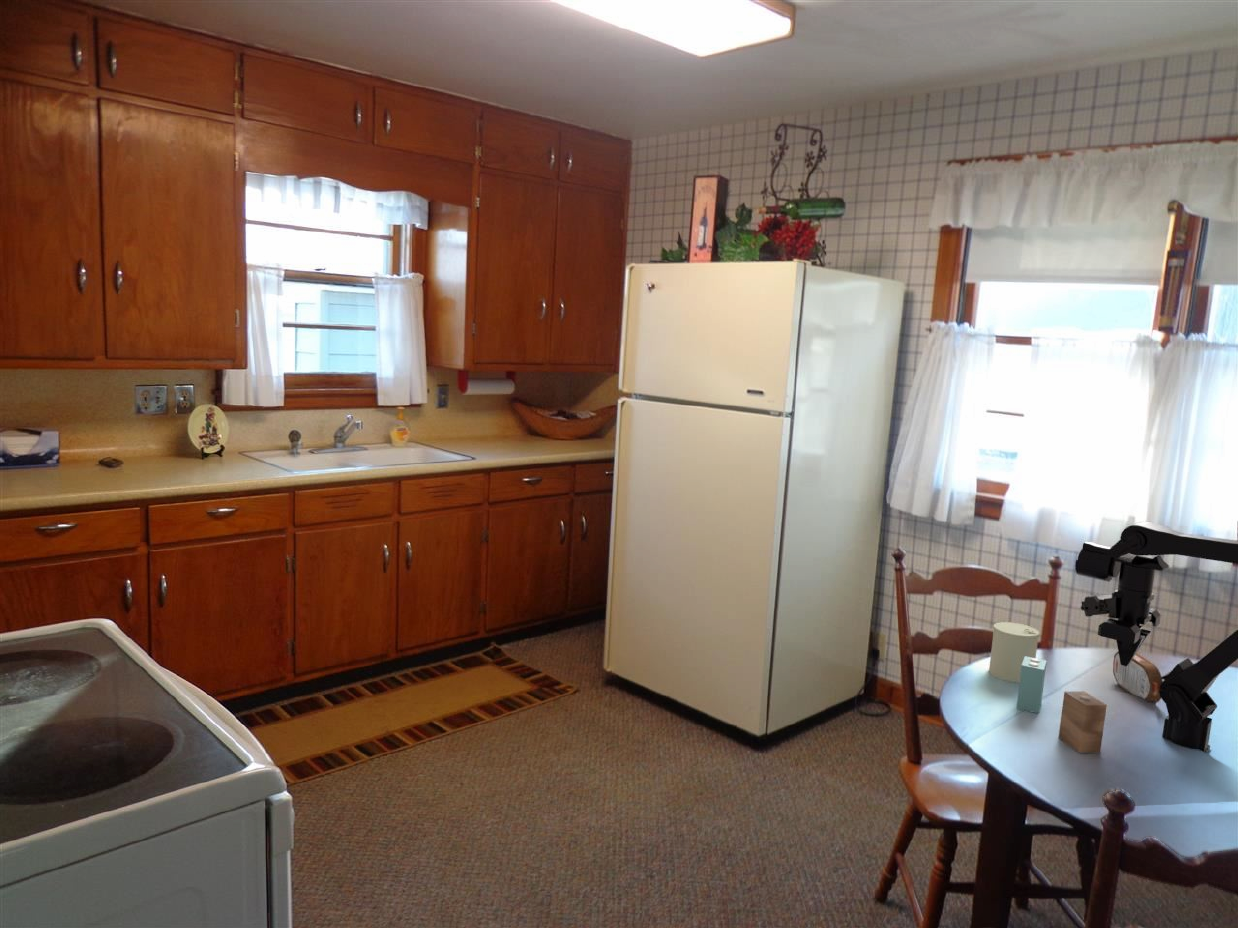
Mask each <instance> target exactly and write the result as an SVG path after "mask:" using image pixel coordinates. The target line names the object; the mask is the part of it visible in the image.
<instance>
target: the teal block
mask: <svg viewBox="0 0 1238 928" xmlns="http://www.w3.org/2000/svg"><path fill="white" fill-rule="evenodd" d="M1047 662H1048V661H1047V660H1046V659H1040V658H1037V657H1036V658H1031V657H1027V656H1025V658H1024V660H1023V663H1022V666H1021V675H1020V683H1019V684H1018V693H1017V702H1016V709H1018V710H1022V711H1026V712H1030V713H1035V714H1039V713H1040V709H1041V707H1042V701H1043V695H1044V694H1043V692H1044V688H1045V687H1044V685H1045V677H1046V668H1047Z"/></svg>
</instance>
